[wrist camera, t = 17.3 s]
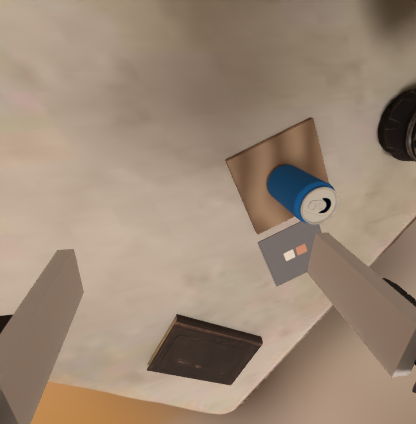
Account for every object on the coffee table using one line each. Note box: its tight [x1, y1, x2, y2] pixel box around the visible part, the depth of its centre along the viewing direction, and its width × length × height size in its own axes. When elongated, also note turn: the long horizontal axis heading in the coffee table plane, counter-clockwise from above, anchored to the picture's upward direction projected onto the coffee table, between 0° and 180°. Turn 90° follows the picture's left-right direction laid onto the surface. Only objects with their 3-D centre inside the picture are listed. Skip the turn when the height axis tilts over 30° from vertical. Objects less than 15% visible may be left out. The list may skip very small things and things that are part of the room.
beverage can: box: [267, 165, 339, 225], centre depth 41 cm, size 6×6×12 cm
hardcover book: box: [147, 315, 263, 385], centre depth 62 cm, size 16×23×2 cm
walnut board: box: [225, 118, 329, 234], centre depth 47 cm, size 16×16×1 cm
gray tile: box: [258, 221, 321, 286], centre depth 55 cm, size 13×13×1 cm
